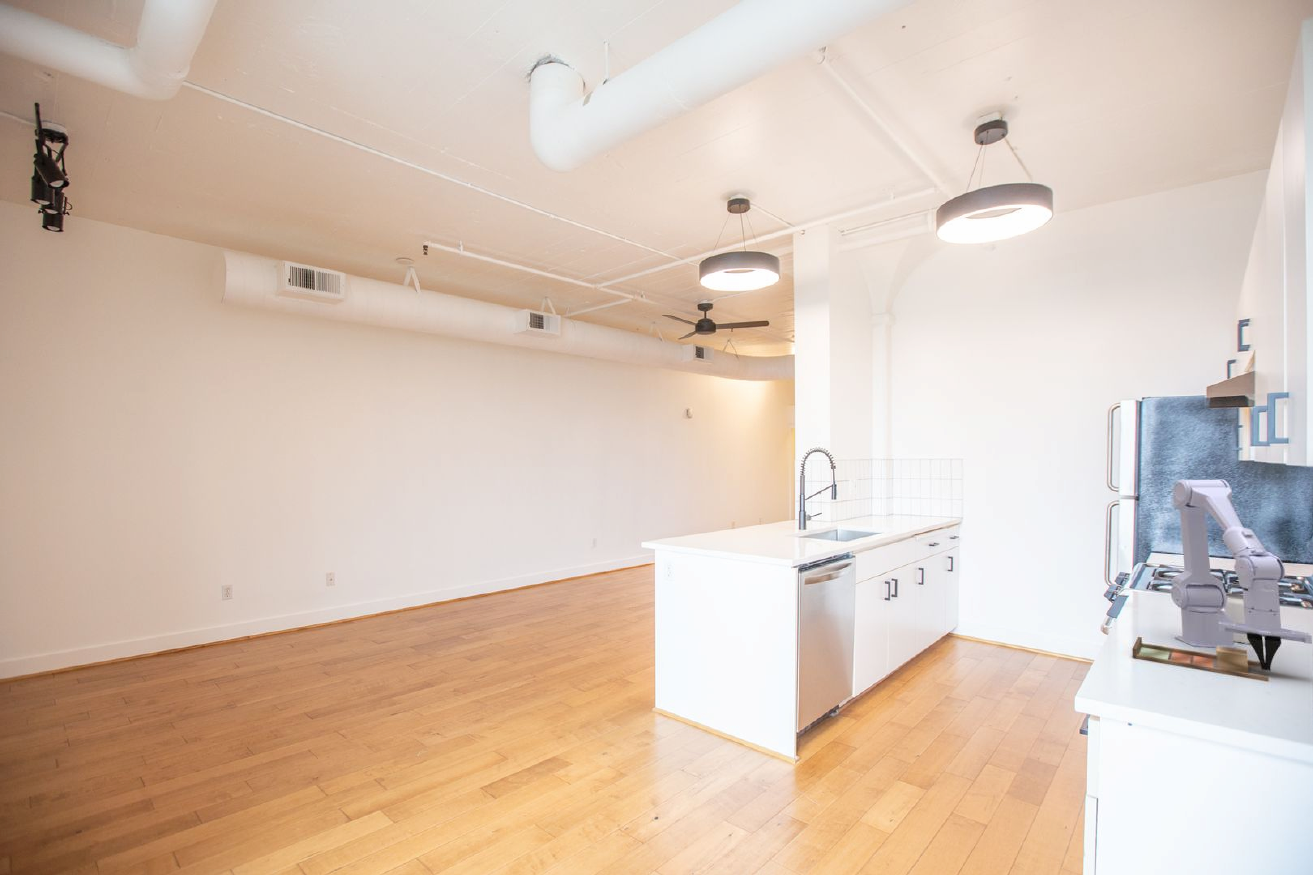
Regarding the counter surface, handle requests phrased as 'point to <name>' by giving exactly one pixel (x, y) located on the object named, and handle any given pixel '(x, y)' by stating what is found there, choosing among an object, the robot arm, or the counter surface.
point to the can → (1236, 614)
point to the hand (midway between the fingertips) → (1265, 668)
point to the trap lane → (1192, 660)
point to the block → (1232, 659)
